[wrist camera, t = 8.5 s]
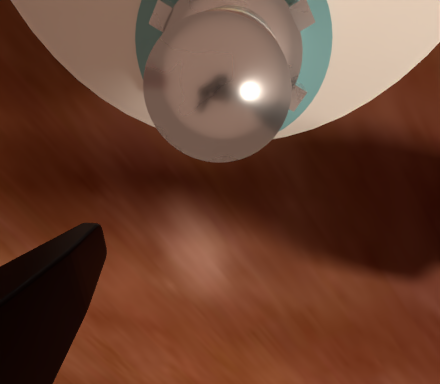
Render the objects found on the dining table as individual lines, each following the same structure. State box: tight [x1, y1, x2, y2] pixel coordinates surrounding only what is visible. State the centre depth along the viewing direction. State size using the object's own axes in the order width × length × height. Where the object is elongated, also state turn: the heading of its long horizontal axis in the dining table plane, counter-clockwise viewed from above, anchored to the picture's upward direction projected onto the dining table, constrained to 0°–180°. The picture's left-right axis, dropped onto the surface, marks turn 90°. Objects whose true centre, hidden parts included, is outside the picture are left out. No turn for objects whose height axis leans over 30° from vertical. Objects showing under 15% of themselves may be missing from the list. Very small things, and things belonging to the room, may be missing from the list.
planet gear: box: [143, 0, 315, 163], centre depth 12 cm, size 7×7×8 cm
